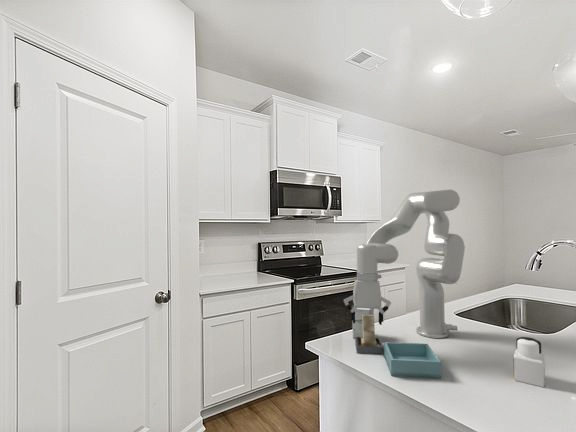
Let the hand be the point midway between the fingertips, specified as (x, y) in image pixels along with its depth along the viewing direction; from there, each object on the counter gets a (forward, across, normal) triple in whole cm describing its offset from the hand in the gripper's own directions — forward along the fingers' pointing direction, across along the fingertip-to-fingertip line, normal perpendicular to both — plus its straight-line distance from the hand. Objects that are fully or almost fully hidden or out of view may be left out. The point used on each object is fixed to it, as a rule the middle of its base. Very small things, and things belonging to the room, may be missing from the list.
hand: (366, 323), depth 123 cm
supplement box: (+10, 0, -12) cm, 16 cm away
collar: (+10, -1, 0) cm, 10 cm away
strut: (+10, -1, 0) cm, 10 cm away
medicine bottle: (+9, -46, +18) cm, 50 cm away
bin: (+10, -13, +14) cm, 21 cm away
